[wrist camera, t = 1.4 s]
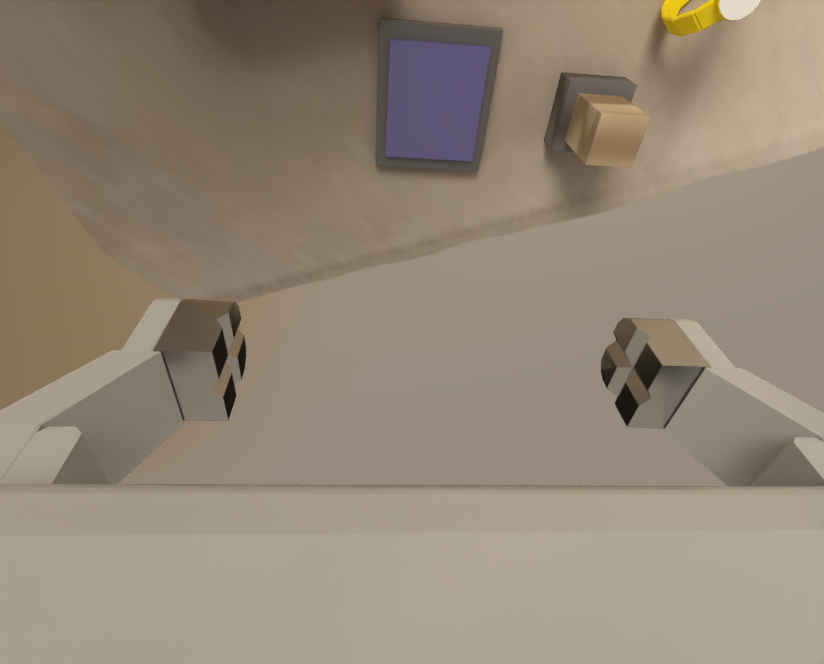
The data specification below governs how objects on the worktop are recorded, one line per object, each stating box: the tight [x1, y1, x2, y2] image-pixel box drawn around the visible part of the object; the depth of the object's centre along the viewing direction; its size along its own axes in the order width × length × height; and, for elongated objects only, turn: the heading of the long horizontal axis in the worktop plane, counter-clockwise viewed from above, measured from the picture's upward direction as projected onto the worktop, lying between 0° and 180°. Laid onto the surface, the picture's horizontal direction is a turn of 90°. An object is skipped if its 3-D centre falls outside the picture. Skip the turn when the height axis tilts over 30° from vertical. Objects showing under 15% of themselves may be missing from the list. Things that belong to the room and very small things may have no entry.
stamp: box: [544, 73, 651, 167], centre depth 35 cm, size 5×5×7 cm
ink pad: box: [376, 18, 503, 171], centre depth 36 cm, size 10×8×2 cm
